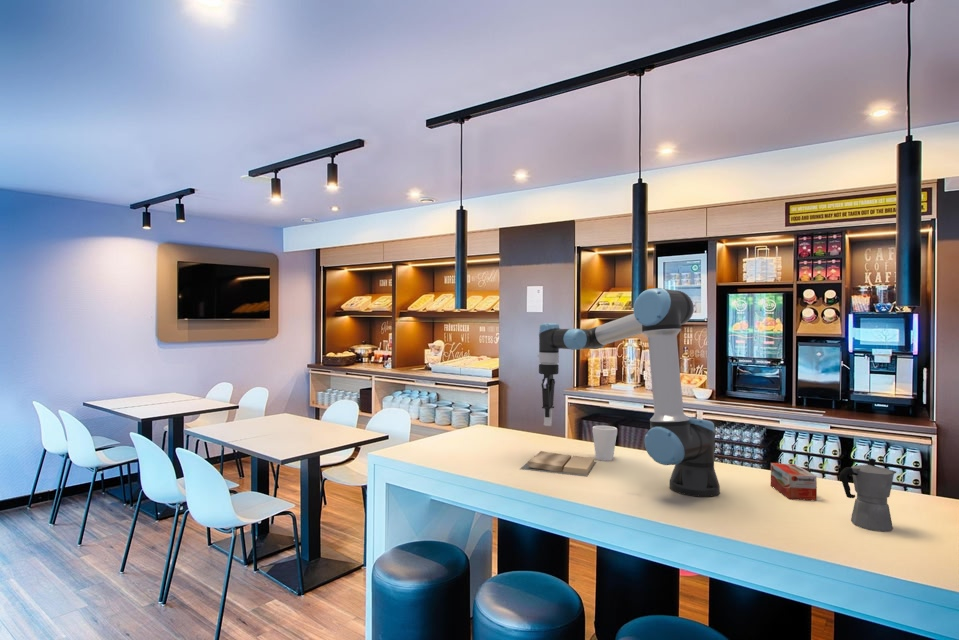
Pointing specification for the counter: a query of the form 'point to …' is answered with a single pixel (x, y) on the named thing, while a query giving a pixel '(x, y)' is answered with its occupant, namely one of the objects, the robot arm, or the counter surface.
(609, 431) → the foam cup
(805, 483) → the medicine box
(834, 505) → the counter surface
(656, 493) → the counter surface
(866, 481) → the coffeepot
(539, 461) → the plank
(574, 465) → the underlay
